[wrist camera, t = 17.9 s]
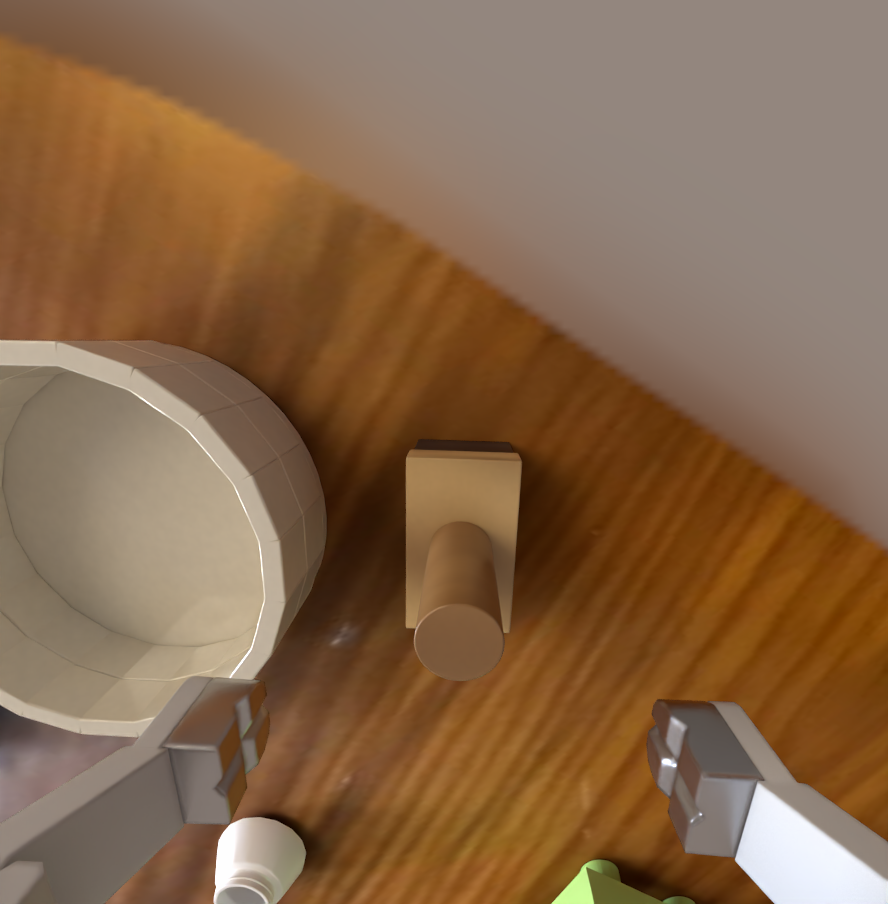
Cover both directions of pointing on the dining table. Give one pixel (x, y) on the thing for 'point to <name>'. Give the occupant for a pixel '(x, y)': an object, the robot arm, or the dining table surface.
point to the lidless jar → (257, 862)
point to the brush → (461, 552)
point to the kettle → (606, 888)
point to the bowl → (143, 528)
